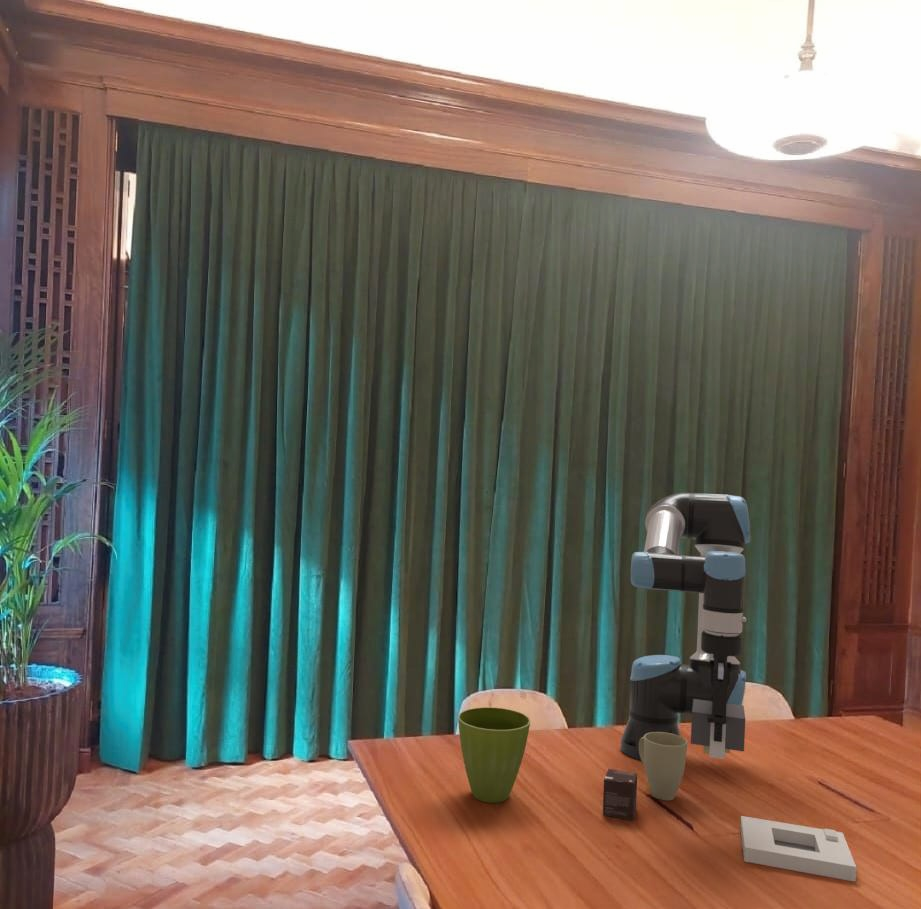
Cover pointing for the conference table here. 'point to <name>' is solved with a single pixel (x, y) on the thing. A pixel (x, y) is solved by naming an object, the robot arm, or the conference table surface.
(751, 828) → the socket
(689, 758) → the conference table surface
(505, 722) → the flower pot
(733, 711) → the plug
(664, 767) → the mug
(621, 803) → the box
